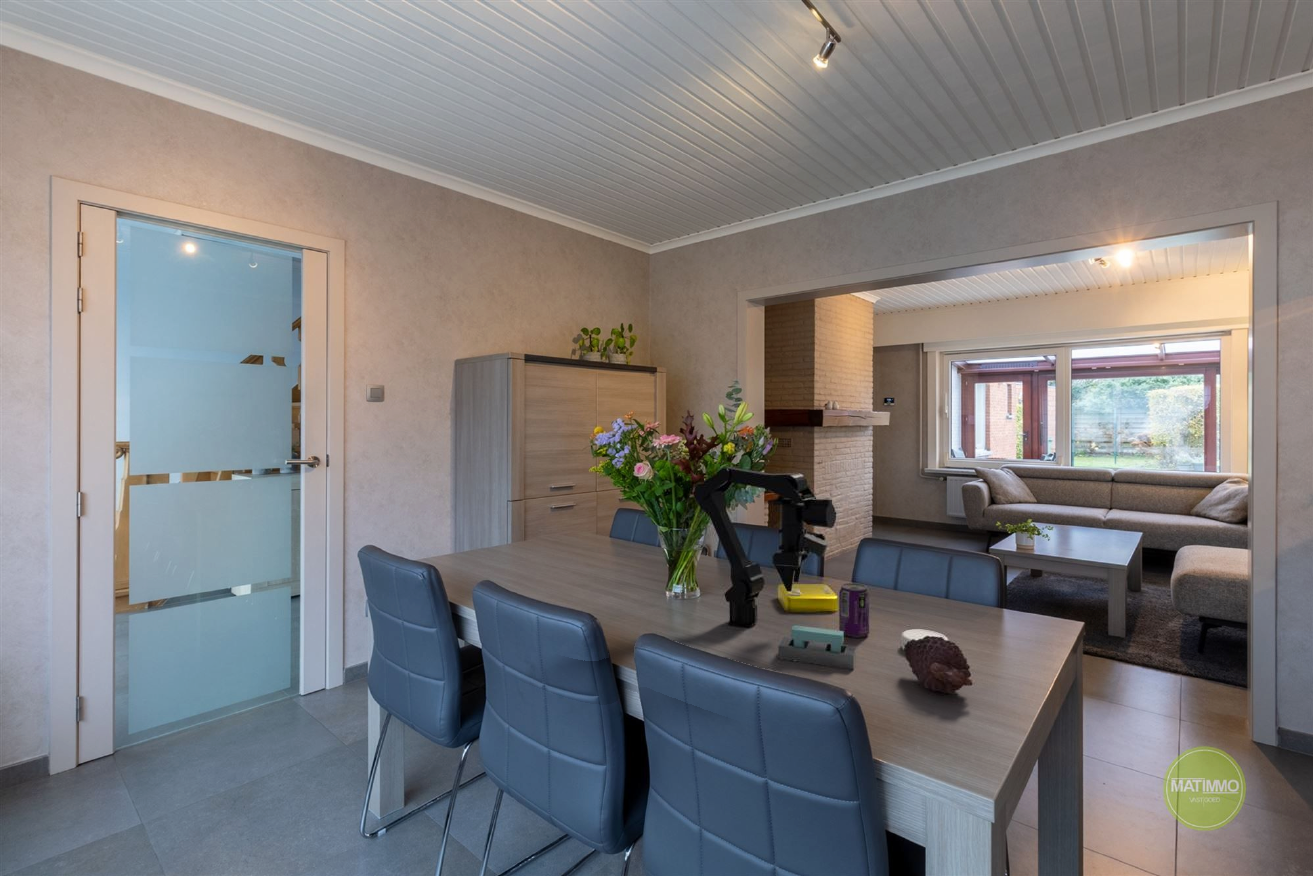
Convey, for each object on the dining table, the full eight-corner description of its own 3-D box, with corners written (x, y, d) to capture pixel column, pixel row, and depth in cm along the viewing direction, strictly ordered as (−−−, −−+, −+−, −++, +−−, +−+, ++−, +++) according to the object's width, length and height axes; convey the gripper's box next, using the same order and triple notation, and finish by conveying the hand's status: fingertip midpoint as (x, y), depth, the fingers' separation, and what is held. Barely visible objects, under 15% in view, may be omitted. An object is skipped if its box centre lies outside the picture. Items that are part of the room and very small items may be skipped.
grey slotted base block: (778, 658, 135) (778, 645, 134) (783, 649, 140) (783, 636, 140) (853, 669, 128) (853, 655, 128) (856, 659, 134) (856, 646, 134)
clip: (791, 658, 135) (791, 629, 135) (793, 653, 138) (793, 625, 138) (842, 665, 131) (842, 635, 130) (843, 660, 133) (843, 631, 133)
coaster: (921, 661, 133) (921, 645, 133) (892, 645, 143) (892, 630, 143) (958, 656, 136) (958, 640, 136) (927, 641, 145) (927, 626, 145)
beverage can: (871, 639, 146) (871, 590, 146) (840, 638, 147) (840, 589, 147) (867, 630, 153) (866, 583, 153) (838, 628, 154) (837, 581, 154)
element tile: (839, 613, 168) (839, 596, 168) (785, 613, 169) (785, 596, 168) (826, 598, 183) (826, 582, 183) (776, 598, 184) (776, 582, 183)
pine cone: (888, 672, 127) (888, 625, 127) (930, 668, 129) (929, 621, 129) (944, 711, 109) (944, 656, 109) (992, 705, 111) (992, 651, 111)
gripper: (820, 532, 138) (820, 600, 138) (830, 520, 155) (831, 580, 155) (771, 529, 142) (772, 595, 143) (787, 518, 159) (787, 576, 160)
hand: (792, 586), depth 150 cm, fingers open, 9 cm apart
